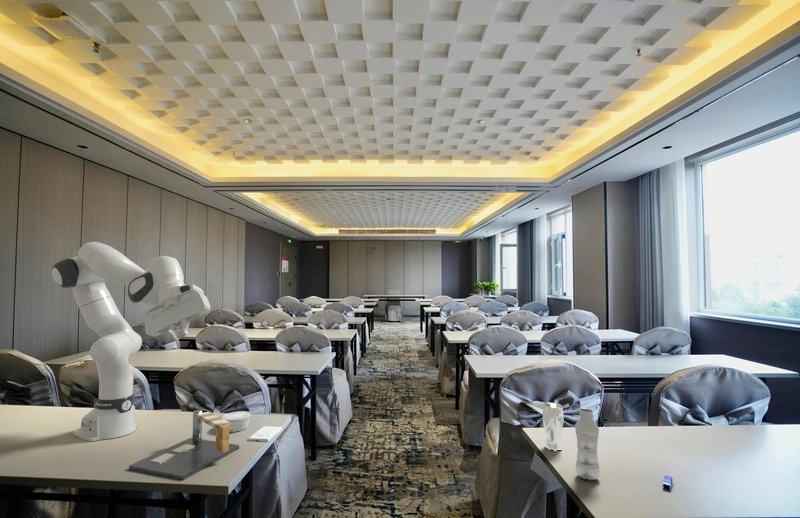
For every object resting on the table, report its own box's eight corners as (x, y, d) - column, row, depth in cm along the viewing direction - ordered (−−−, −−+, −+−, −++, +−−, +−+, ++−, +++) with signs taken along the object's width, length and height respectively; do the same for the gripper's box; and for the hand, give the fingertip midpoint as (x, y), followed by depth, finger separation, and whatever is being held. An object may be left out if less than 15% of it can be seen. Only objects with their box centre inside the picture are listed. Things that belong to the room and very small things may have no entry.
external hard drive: (282, 430, 161) (268, 443, 149) (263, 430, 162) (247, 442, 150) (282, 426, 161) (268, 438, 149) (263, 425, 162) (247, 437, 150)
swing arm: (196, 437, 144) (197, 414, 145) (207, 433, 147) (208, 411, 148) (222, 453, 131) (223, 427, 131) (234, 449, 134) (235, 424, 134)
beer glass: (564, 446, 144) (563, 403, 145) (563, 453, 138) (562, 409, 139) (544, 442, 147) (543, 401, 148) (542, 450, 141) (541, 406, 142)
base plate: (129, 469, 127) (130, 430, 127) (190, 440, 149) (191, 408, 150) (183, 480, 120) (184, 439, 120) (239, 448, 142) (239, 414, 143)
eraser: (662, 489, 114) (662, 482, 114) (664, 481, 119) (664, 474, 119) (670, 492, 113) (670, 484, 113) (672, 483, 118) (672, 476, 118)
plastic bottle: (571, 473, 123) (570, 407, 125) (592, 472, 124) (590, 406, 125) (582, 484, 117) (581, 414, 118) (605, 483, 118) (602, 413, 119)
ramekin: (235, 422, 170) (235, 409, 170) (256, 425, 166) (256, 412, 166) (214, 431, 159) (214, 418, 159) (236, 435, 155) (237, 421, 155)
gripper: (136, 309, 128) (144, 349, 122) (196, 282, 129) (207, 319, 124) (149, 315, 133) (157, 352, 128) (207, 288, 135) (217, 324, 130)
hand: (182, 336), depth 126 cm, fingers closed
